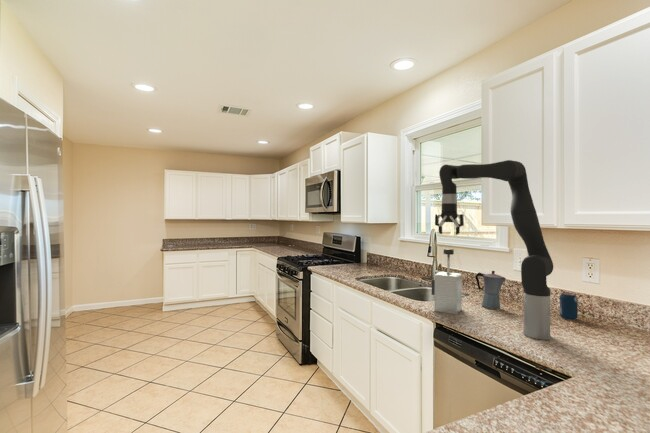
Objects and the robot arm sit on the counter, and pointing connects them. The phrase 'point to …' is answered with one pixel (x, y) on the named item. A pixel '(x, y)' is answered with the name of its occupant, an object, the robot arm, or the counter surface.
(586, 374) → the counter surface
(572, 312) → the soda can
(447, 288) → the grey block
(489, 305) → the moka pot
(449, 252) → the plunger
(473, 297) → the counter surface
